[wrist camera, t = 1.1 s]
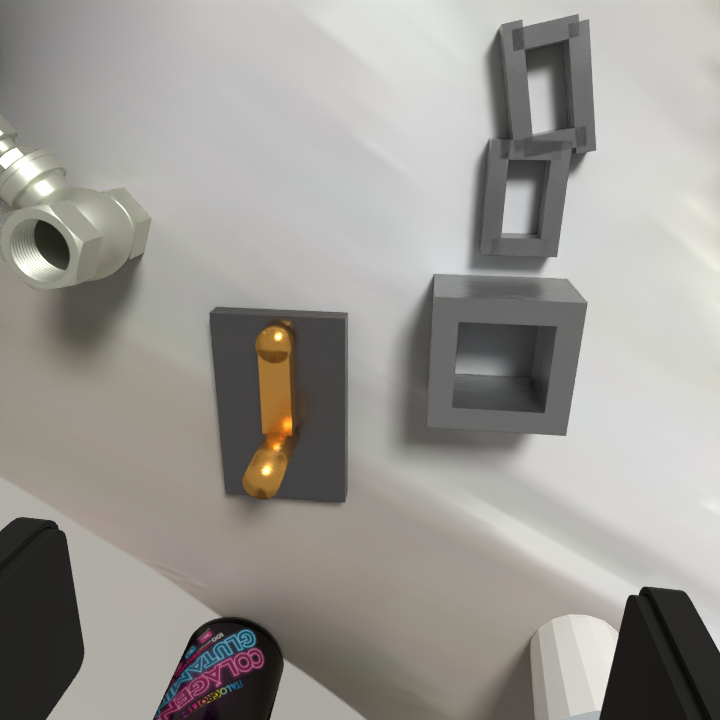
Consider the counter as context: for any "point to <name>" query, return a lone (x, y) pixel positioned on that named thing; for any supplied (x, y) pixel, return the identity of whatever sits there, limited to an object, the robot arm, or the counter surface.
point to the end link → (501, 393)
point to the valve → (62, 221)
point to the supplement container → (225, 674)
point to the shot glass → (571, 667)
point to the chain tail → (540, 145)
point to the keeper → (282, 401)
